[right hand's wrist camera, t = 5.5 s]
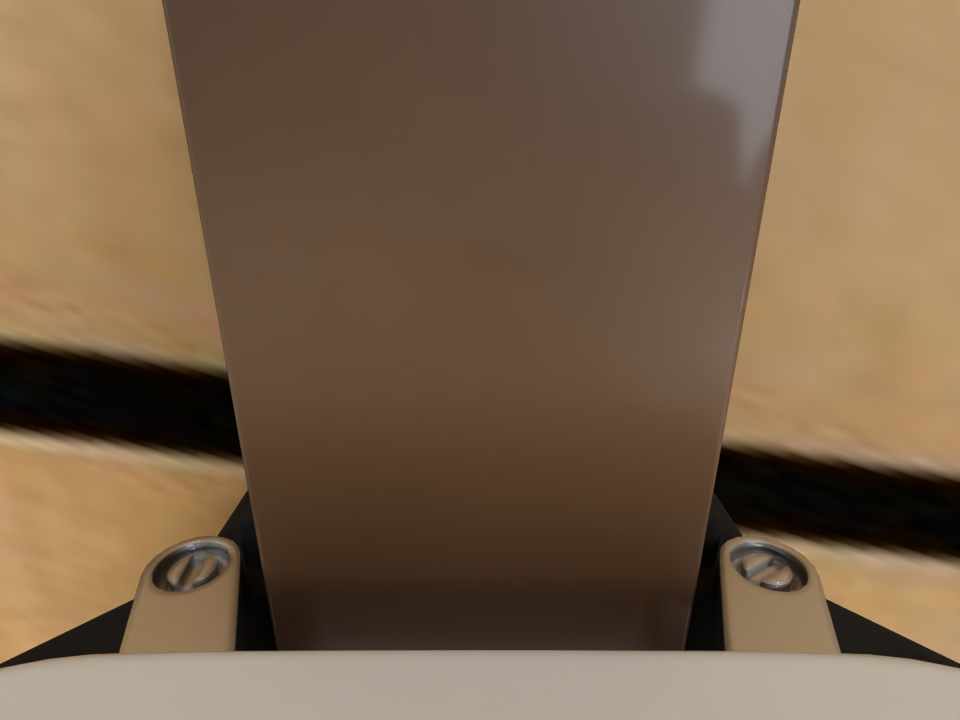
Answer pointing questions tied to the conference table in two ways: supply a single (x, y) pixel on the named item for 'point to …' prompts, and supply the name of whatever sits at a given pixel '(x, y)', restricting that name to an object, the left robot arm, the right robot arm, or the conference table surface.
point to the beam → (480, 301)
